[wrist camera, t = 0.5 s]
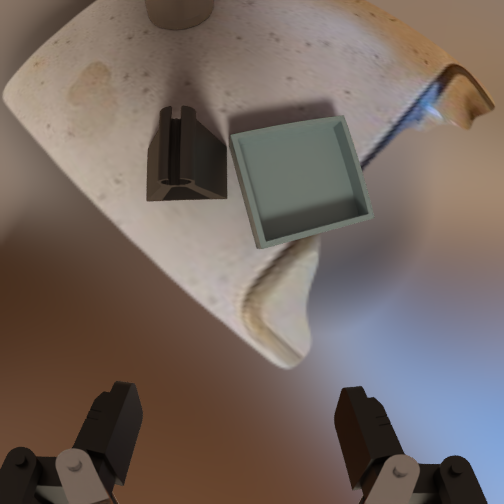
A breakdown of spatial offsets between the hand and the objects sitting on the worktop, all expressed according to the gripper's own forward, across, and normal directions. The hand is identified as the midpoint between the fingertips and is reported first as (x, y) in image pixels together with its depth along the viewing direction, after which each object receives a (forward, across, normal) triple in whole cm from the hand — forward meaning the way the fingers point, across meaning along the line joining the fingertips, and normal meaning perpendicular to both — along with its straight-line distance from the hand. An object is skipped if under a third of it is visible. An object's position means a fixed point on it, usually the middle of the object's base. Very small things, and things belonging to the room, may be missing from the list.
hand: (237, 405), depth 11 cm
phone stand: (+27, +6, -6) cm, 28 cm away
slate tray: (+28, -6, -5) cm, 29 cm away
